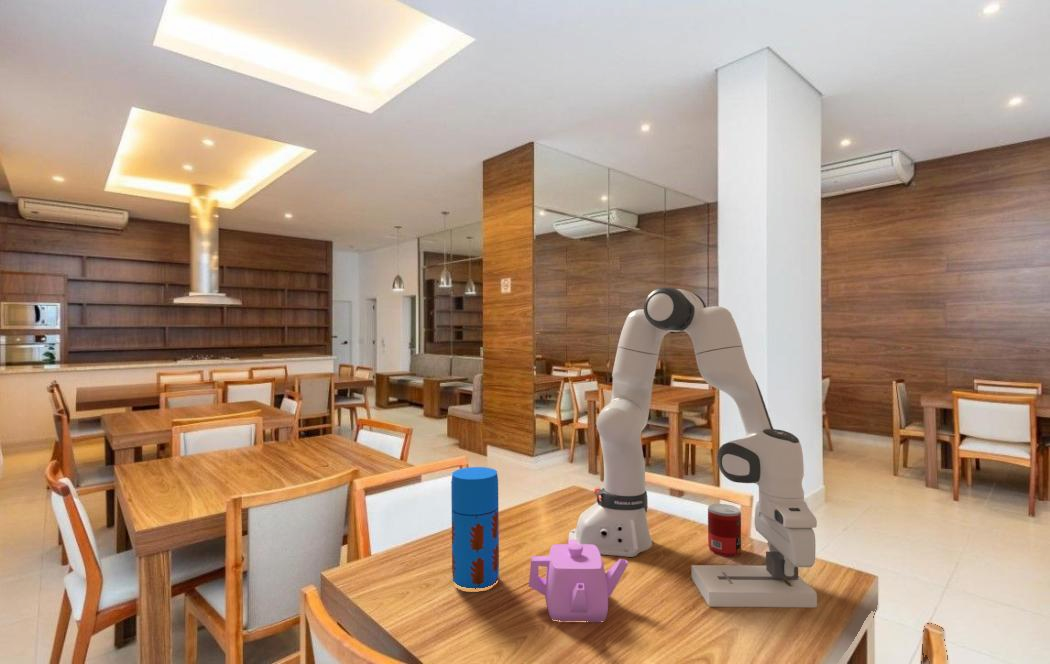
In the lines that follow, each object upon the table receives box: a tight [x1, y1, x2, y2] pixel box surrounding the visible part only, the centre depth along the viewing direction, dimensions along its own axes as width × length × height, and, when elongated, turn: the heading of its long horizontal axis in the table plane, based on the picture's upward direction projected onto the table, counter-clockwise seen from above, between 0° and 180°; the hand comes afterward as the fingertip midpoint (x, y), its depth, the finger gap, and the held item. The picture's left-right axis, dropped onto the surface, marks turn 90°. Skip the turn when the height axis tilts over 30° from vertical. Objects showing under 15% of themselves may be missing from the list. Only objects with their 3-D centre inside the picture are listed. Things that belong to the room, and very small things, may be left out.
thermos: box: [450, 466, 500, 589], centre depth 115 cm, size 11×11×25 cm
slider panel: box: [691, 564, 818, 608], centre depth 109 cm, size 22×12×3 cm, turn 88°
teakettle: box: [528, 538, 629, 623], centre depth 104 cm, size 17×17×12 cm
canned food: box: [707, 503, 742, 558], centre depth 130 cm, size 8×8×11 cm
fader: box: [765, 551, 799, 578], centre depth 108 cm, size 5×4×5 cm
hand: (782, 568), depth 108 cm, fingers closed on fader, 4 cm apart
